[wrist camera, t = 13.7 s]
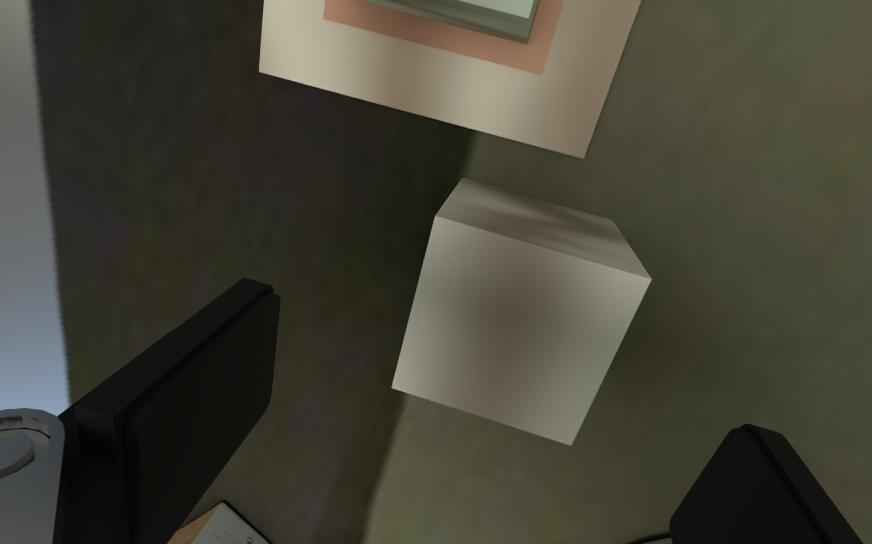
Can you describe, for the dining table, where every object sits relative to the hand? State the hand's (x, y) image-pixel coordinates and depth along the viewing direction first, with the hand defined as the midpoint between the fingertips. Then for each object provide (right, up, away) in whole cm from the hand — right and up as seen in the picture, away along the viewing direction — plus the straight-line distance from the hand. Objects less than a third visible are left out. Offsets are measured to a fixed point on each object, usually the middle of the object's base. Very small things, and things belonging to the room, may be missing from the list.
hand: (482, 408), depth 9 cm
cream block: (+2, +3, +10) cm, 10 cm away
